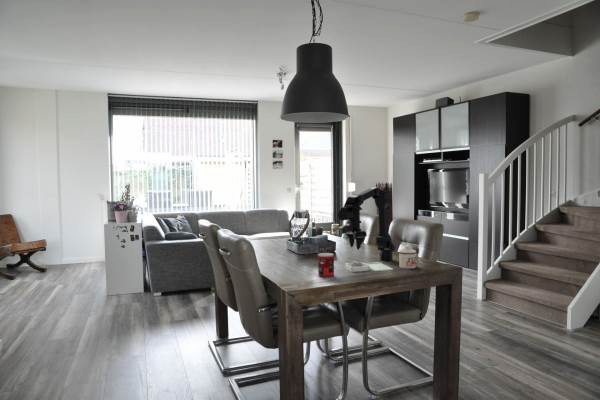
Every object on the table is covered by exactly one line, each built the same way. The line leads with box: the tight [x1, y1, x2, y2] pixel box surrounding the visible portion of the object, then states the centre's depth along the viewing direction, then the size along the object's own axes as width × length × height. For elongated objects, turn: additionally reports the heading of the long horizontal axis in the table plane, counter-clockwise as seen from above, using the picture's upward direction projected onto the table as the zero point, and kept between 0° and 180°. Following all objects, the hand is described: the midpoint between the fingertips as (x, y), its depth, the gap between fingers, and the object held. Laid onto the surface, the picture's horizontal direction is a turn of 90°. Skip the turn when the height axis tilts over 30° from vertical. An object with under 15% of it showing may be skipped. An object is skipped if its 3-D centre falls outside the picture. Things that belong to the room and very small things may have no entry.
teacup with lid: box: [398, 245, 419, 269], centre depth 231 cm, size 12×9×12 cm
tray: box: [364, 261, 394, 272], centre depth 232 cm, size 10×18×1 cm, turn 14°
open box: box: [344, 261, 371, 273], centre depth 228 cm, size 10×10×3 cm
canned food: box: [317, 252, 335, 278], centre depth 217 cm, size 8×8×11 cm
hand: (354, 248), depth 229 cm, fingers open, 9 cm apart
